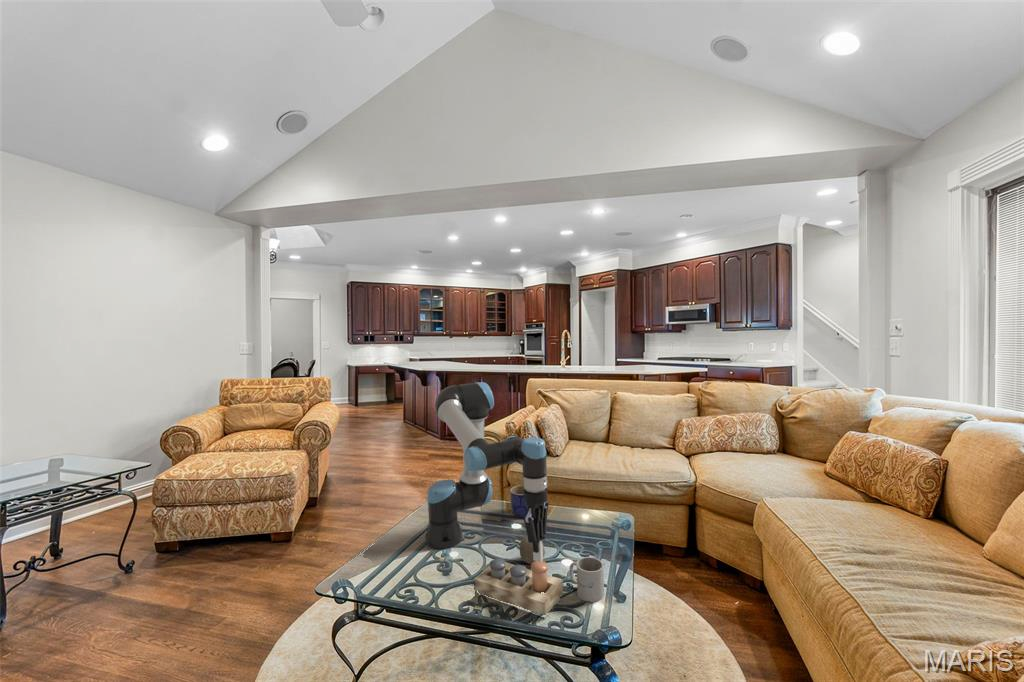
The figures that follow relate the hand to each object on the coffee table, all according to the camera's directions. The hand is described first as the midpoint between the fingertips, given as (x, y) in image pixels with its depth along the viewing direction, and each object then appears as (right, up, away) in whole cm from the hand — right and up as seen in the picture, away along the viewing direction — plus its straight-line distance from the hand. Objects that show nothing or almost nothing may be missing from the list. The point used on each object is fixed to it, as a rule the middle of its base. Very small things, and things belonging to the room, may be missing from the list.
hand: (538, 560), depth 143 cm
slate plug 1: (-13, -12, +9) cm, 20 cm away
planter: (-3, -9, +62) cm, 63 cm away
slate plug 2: (-6, -12, +5) cm, 15 cm away
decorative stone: (-1, -12, +23) cm, 26 cm away
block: (-6, -14, +5) cm, 16 cm away
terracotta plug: (+1, -9, +1) cm, 9 cm away
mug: (+16, -13, +6) cm, 22 cm away
